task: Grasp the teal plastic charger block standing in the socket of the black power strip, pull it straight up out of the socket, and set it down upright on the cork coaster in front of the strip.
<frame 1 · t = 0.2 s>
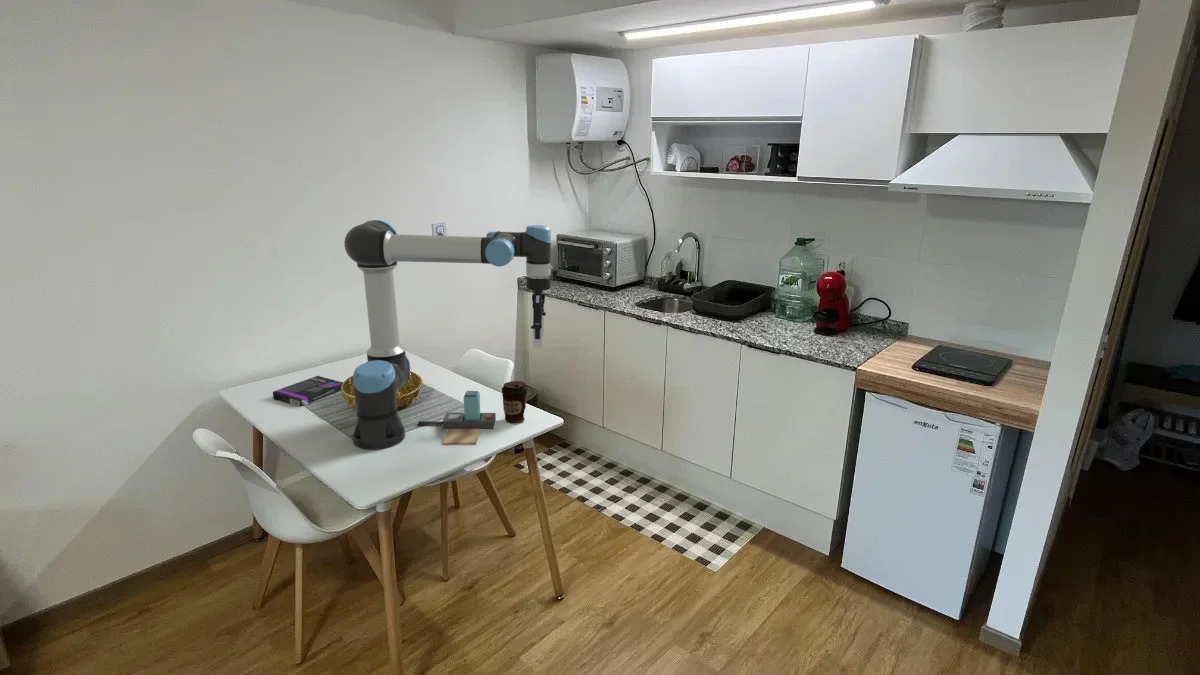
hand: (538, 341, 200), 28 cm above the table, fingers open, 13 cm apart
box: (310, 395, 226), on the table
strip: (469, 424, 204), on the table
coffee cup: (514, 421, 208), on the table
charger: (472, 423, 204), point 1 cm above the table, touching strip
pad: (462, 437, 195), on the table
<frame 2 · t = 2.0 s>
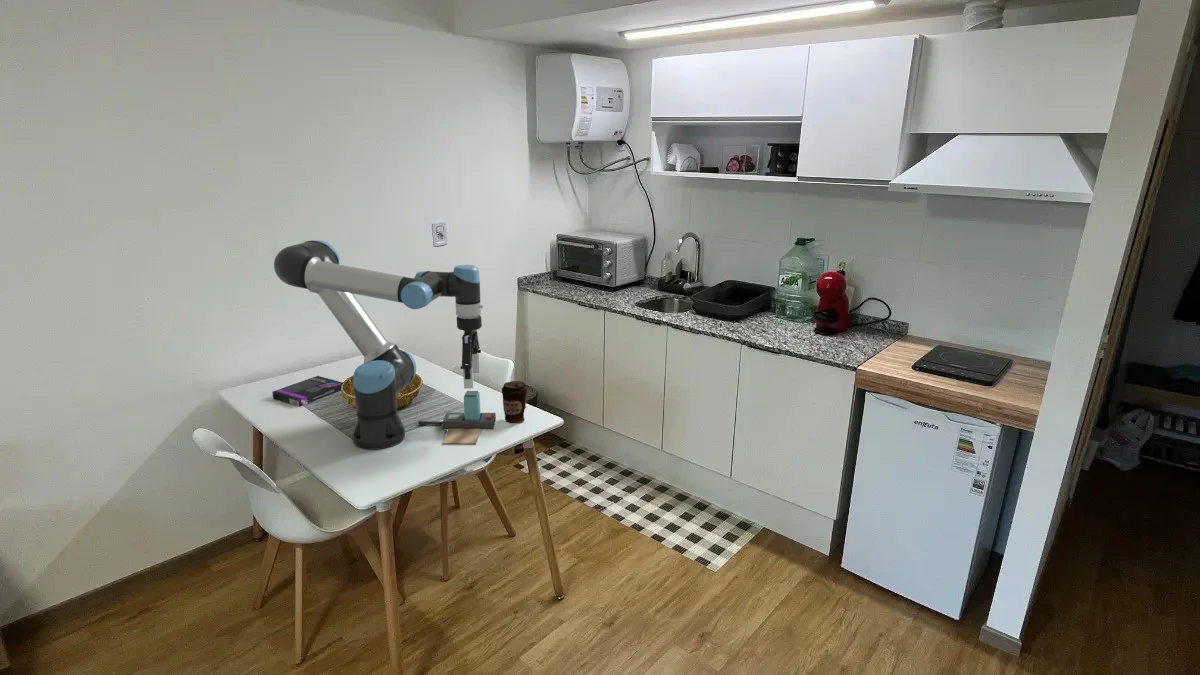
hand: (472, 380, 199), 16 cm above the table, fingers open, 13 cm apart
nothing on the table moved.
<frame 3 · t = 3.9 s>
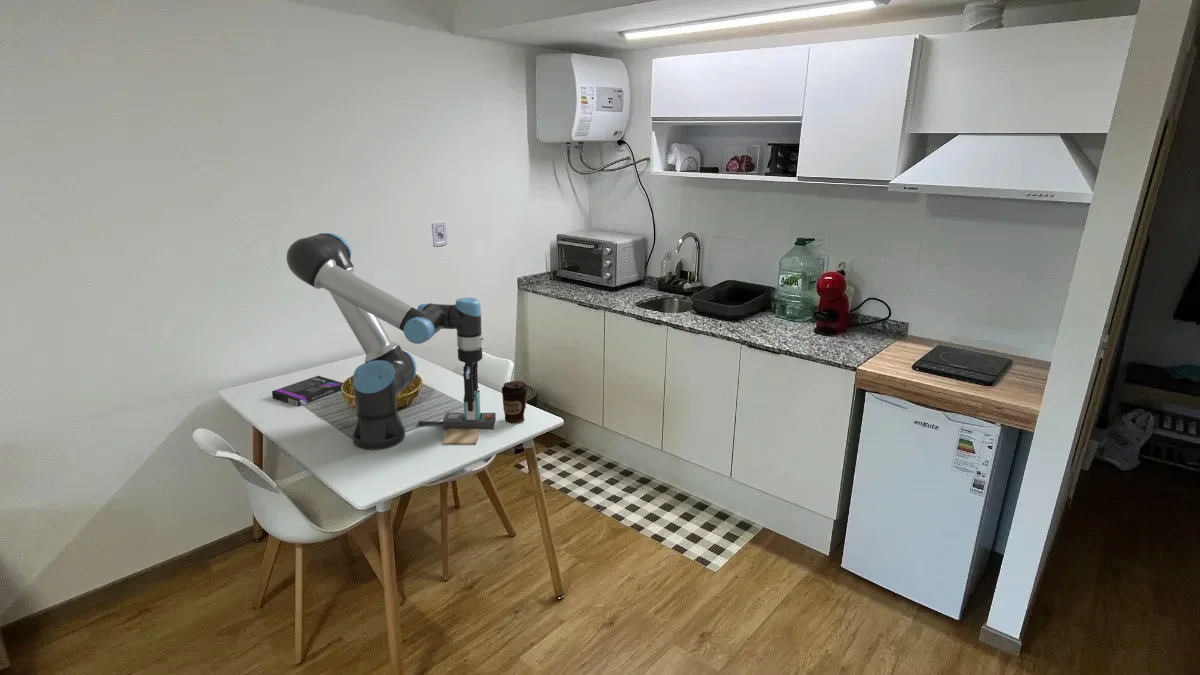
hand: (472, 415, 203), 3 cm above the table, fingers closed on charger, 4 cm apart
charger: (472, 423, 204), point 1 cm above the table, touching gripper, strip
everything else where it was.
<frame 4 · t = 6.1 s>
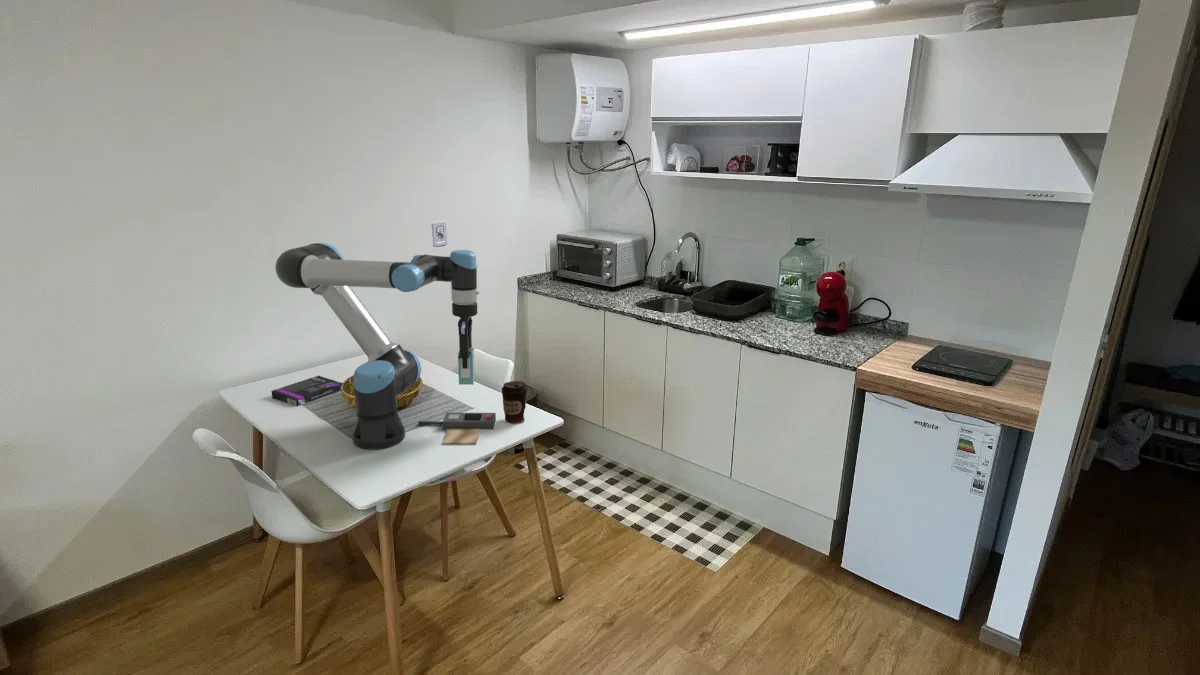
hand: (466, 374, 196), 18 cm above the table, fingers closed on charger, 4 cm apart
charger: (466, 381, 197), point 16 cm above the table, touching gripper
everything else where it was.
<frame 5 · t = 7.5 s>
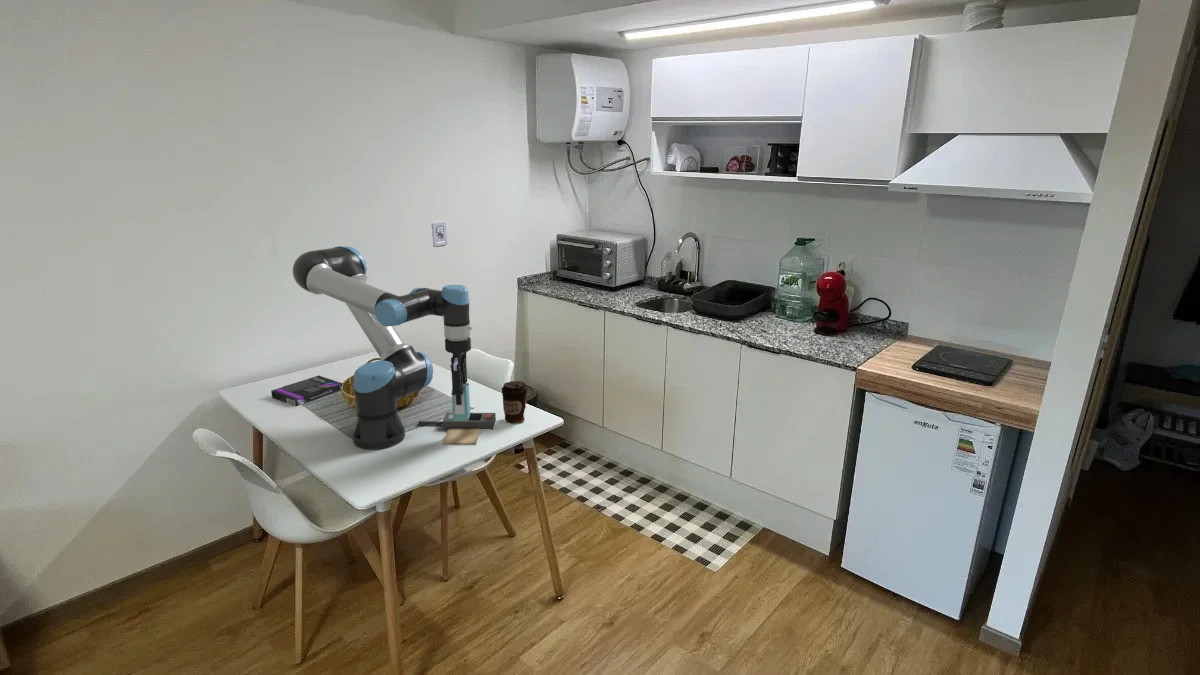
hand: (461, 410, 192), 9 cm above the table, fingers closed on charger, 4 cm apart
charger: (461, 417, 193), point 7 cm above the table, touching gripper
everything else where it was.
when the fingers open (4 cm above the table, at t = 8.6 s): charger drops 1 cm, resting on pad.
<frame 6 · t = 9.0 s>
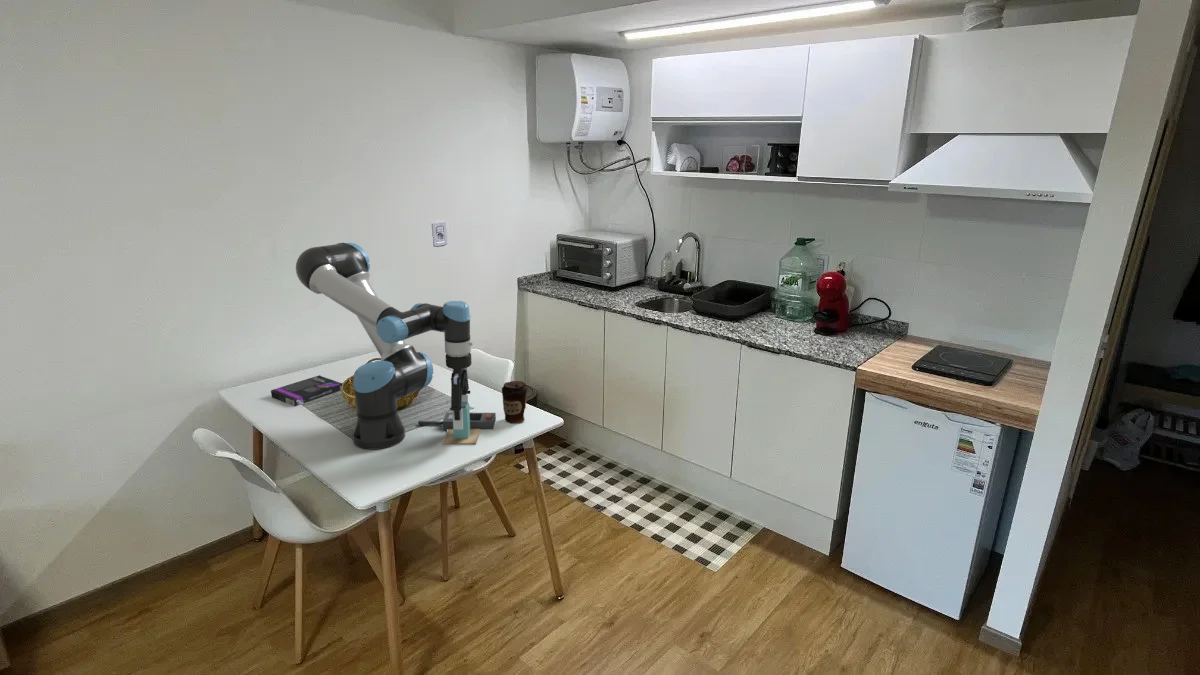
hand: (461, 421, 194), 5 cm above the table, fingers open, 10 cm apart
charger: (462, 435, 195), point 1 cm above the table, touching pad
everything else where it was.
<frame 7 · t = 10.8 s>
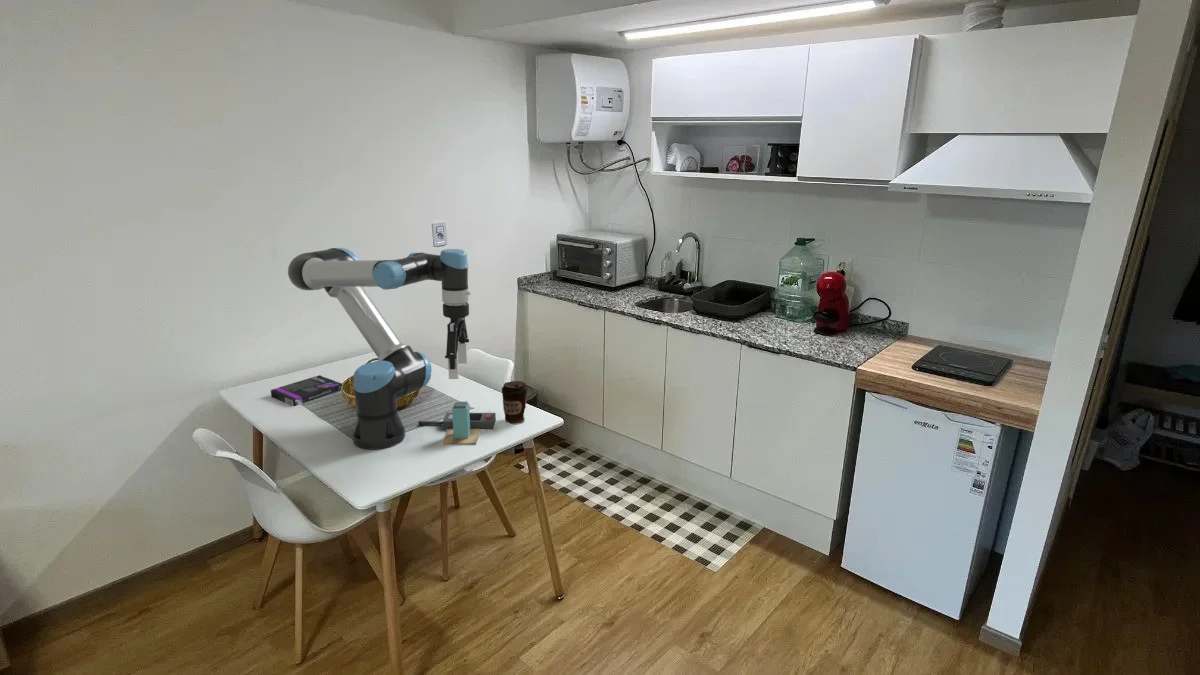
hand: (458, 370, 190), 22 cm above the table, fingers open, 13 cm apart
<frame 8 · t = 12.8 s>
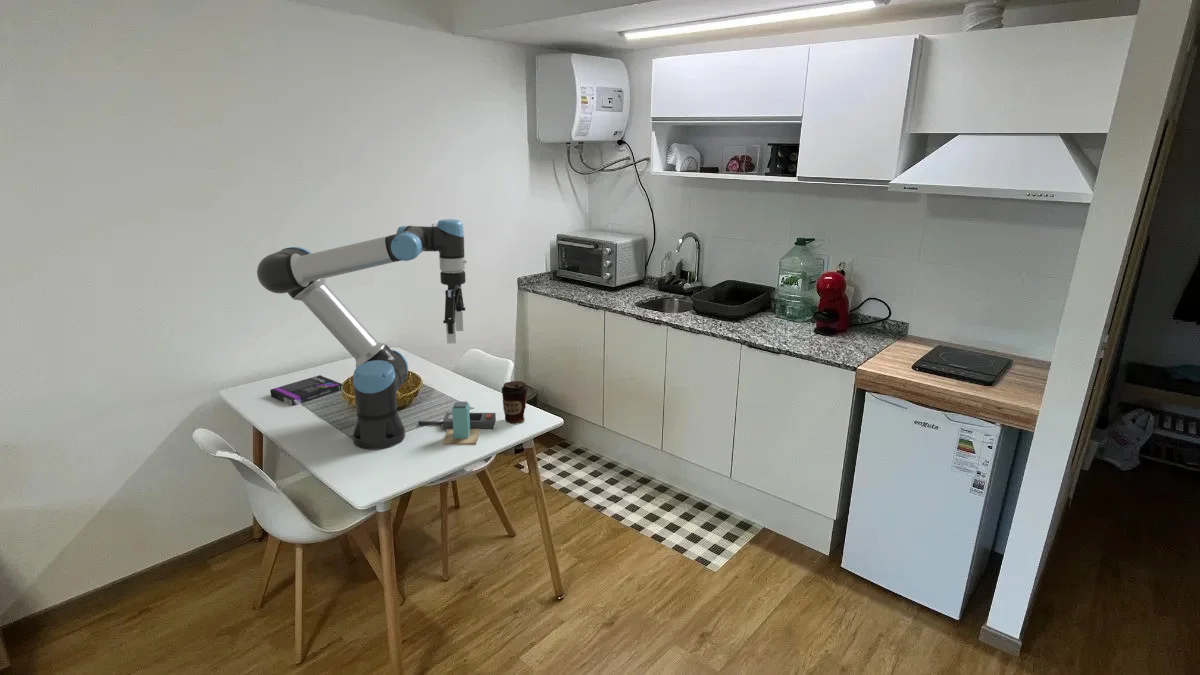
hand: (455, 336, 199), 29 cm above the table, fingers open, 13 cm apart
at the end: charger inside the target area on the pad (0.0 cm from its centre), point 0.6 cm above the pad's base; charger tilted 0°; the gripper is holding nothing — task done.
